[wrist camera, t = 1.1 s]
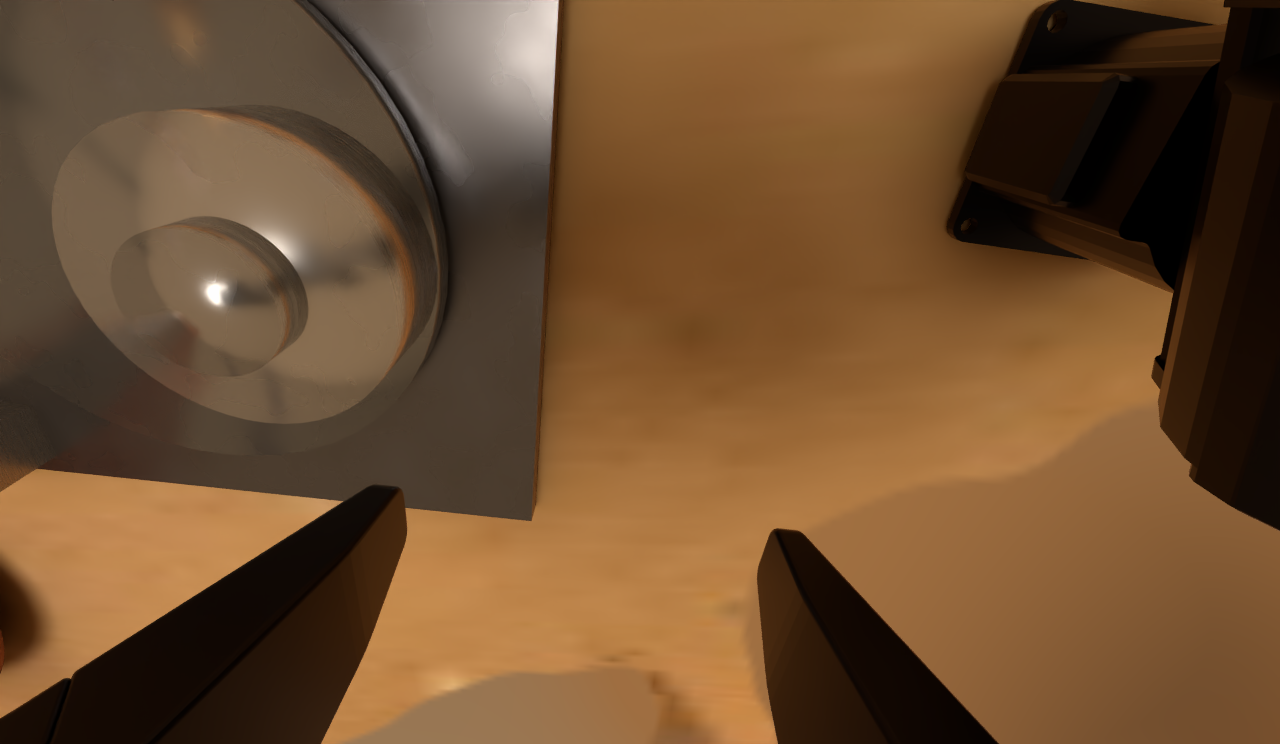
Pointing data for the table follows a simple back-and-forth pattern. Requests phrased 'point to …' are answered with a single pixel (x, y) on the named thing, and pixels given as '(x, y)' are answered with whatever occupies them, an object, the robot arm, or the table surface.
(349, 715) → the table surface
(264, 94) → the turntable
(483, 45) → the base plate
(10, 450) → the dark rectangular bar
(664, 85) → the table surface
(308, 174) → the cover
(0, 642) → the ceramic jug
